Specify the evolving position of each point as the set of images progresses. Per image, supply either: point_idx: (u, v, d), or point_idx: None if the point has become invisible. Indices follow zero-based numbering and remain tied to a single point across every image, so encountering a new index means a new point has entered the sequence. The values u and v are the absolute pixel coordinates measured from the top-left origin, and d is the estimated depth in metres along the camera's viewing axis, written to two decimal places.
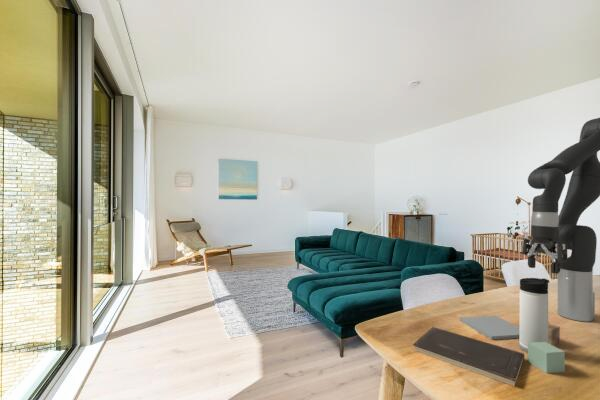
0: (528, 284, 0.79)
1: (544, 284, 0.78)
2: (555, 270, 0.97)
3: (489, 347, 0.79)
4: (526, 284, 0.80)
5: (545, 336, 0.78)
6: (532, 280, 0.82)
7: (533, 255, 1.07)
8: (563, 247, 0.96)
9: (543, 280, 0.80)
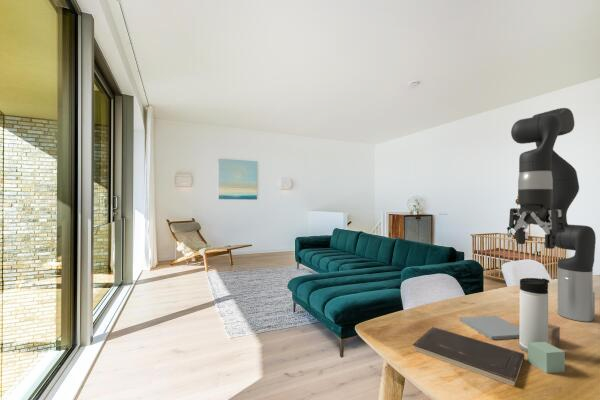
0: (528, 284, 0.79)
1: (544, 284, 0.78)
2: (549, 244, 0.76)
3: (489, 347, 0.78)
4: (526, 284, 0.80)
5: (545, 336, 0.78)
6: (532, 280, 0.82)
7: (522, 228, 0.85)
8: (558, 214, 0.74)
9: (543, 280, 0.80)
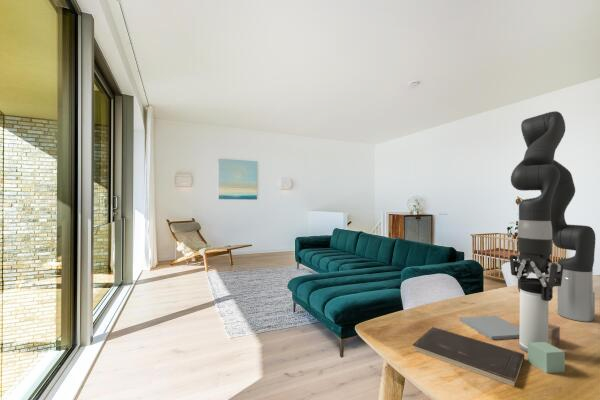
0: (528, 284, 0.79)
1: None
2: (546, 297, 0.76)
3: (489, 347, 0.78)
4: (526, 284, 0.79)
5: (545, 336, 0.78)
6: (532, 280, 0.82)
7: (524, 276, 0.84)
8: (557, 269, 0.74)
9: None
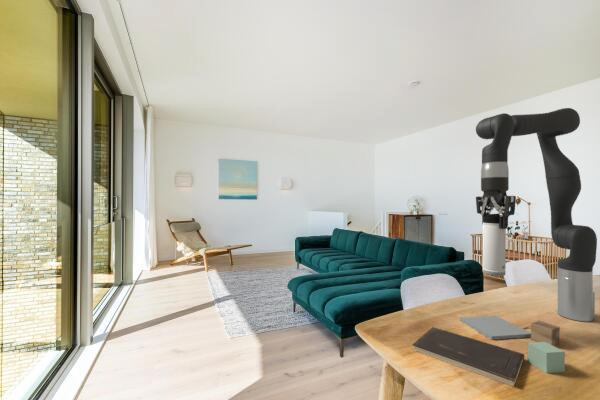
0: (488, 216, 0.93)
1: None
2: (503, 225, 0.90)
3: (489, 347, 0.78)
4: (487, 217, 0.93)
5: (502, 259, 0.91)
6: (493, 215, 0.96)
7: (487, 213, 0.98)
8: (511, 200, 0.88)
9: None
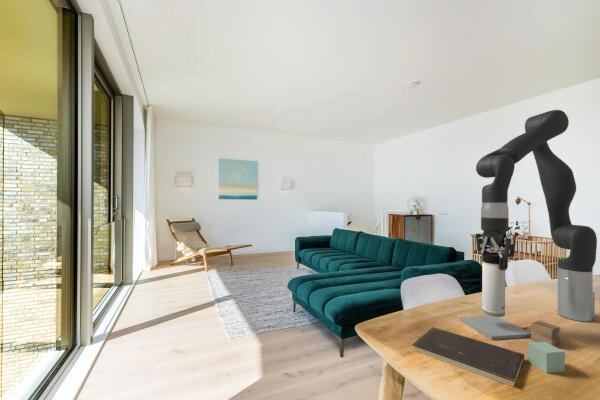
0: (488, 256, 0.93)
1: None
2: (502, 266, 0.90)
3: (489, 347, 0.78)
4: (487, 257, 0.93)
5: (502, 300, 0.91)
6: (493, 254, 0.96)
7: (487, 251, 0.98)
8: (511, 242, 0.88)
9: None
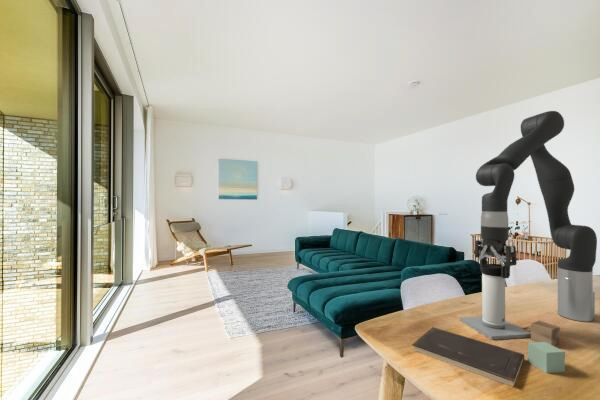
0: (488, 268, 0.93)
1: None
2: (504, 275, 0.89)
3: (489, 347, 0.78)
4: (486, 268, 0.93)
5: (502, 312, 0.91)
6: (492, 265, 0.96)
7: (485, 258, 0.99)
8: (511, 250, 0.88)
9: (501, 265, 0.94)
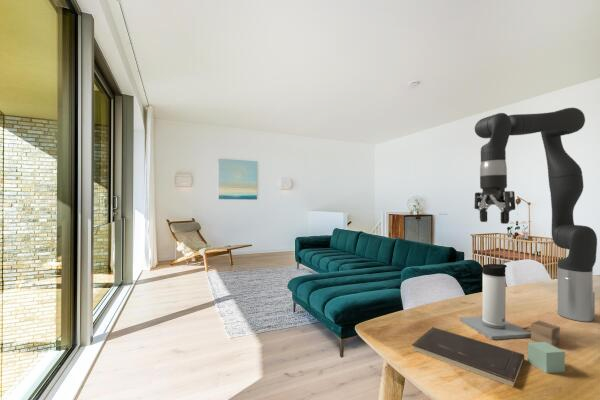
0: (488, 268, 0.93)
1: (501, 268, 0.91)
2: (504, 220, 0.92)
3: (489, 347, 0.78)
4: (487, 268, 0.93)
5: (502, 312, 0.91)
6: (493, 265, 0.96)
7: (484, 208, 1.01)
8: (510, 195, 0.90)
9: (502, 265, 0.94)
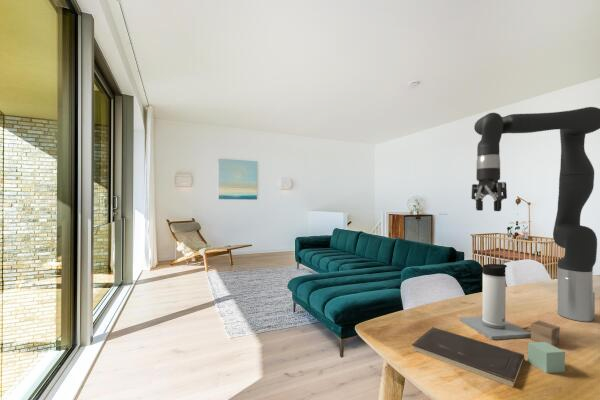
0: (489, 268, 0.93)
1: (501, 268, 0.91)
2: (497, 208, 1.04)
3: (489, 347, 0.78)
4: (487, 268, 0.93)
5: (502, 312, 0.91)
6: (493, 265, 0.96)
7: (480, 198, 1.13)
8: (502, 185, 1.02)
9: (502, 265, 0.94)
